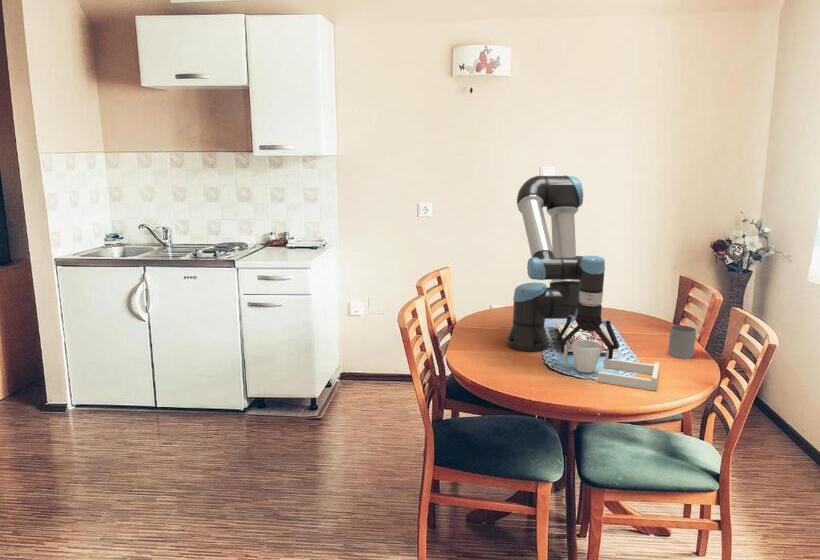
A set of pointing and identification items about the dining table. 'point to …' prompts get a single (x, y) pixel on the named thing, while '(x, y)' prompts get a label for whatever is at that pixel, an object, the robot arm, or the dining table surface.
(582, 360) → the cup
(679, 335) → the cup
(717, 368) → the dining table surface
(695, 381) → the dining table surface
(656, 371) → the bracket
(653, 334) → the dining table surface
